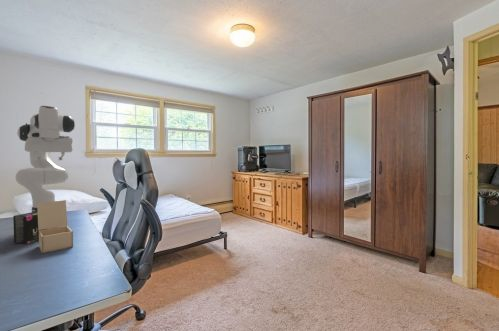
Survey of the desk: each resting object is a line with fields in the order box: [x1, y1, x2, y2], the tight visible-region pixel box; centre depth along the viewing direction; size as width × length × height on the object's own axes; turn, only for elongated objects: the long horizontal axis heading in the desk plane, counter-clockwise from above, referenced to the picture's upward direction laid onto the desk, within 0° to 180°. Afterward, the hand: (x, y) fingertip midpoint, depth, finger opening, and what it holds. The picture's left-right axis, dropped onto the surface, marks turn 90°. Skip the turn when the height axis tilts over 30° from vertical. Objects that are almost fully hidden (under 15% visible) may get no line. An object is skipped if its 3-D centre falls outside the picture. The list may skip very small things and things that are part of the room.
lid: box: [37, 199, 68, 230], centre depth 130 cm, size 14×12×1 cm
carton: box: [38, 225, 74, 254], centre depth 123 cm, size 14×12×8 cm
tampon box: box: [13, 211, 46, 245], centre depth 133 cm, size 11×9×15 cm
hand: (49, 160), depth 134 cm, fingers open, 8 cm apart
